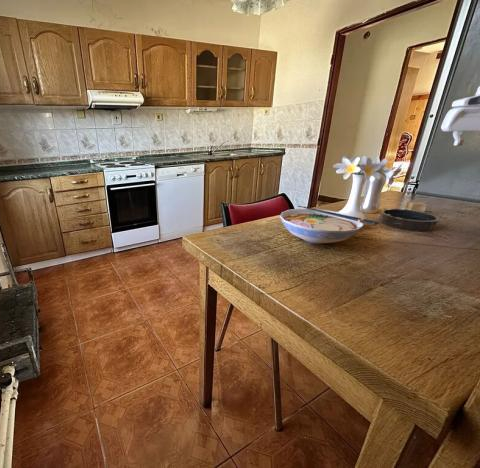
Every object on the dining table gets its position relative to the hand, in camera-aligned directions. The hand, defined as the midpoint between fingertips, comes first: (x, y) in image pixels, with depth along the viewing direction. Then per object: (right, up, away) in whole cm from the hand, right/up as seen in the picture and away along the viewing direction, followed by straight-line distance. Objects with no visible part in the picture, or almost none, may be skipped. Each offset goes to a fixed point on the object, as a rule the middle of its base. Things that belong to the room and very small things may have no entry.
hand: (476, 145), depth 85 cm
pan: (-16, -26, +8) cm, 32 cm away
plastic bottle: (-18, -21, +23) cm, 36 cm away
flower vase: (-37, -28, +7) cm, 47 cm away
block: (-3, -21, +19) cm, 29 cm away
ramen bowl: (-55, -32, -2) cm, 64 cm away
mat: (-3, -22, +19) cm, 29 cm away
